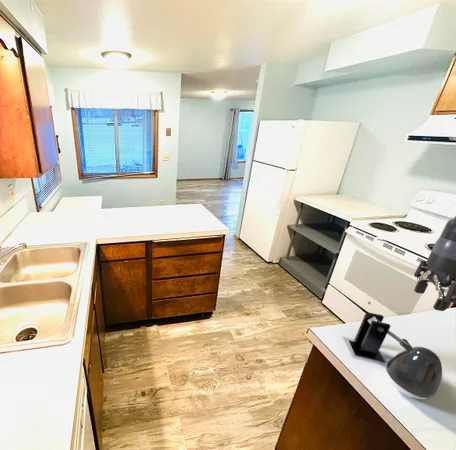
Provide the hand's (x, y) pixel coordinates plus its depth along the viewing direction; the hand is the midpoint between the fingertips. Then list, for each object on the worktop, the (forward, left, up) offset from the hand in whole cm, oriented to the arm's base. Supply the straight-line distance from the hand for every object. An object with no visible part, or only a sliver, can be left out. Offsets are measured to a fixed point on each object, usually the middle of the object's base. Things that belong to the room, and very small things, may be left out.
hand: (427, 300), depth 73 cm
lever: (+8, +4, -13) cm, 16 cm away
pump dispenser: (+7, +15, -21) cm, 27 cm away
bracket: (+12, +4, -21) cm, 25 cm away
